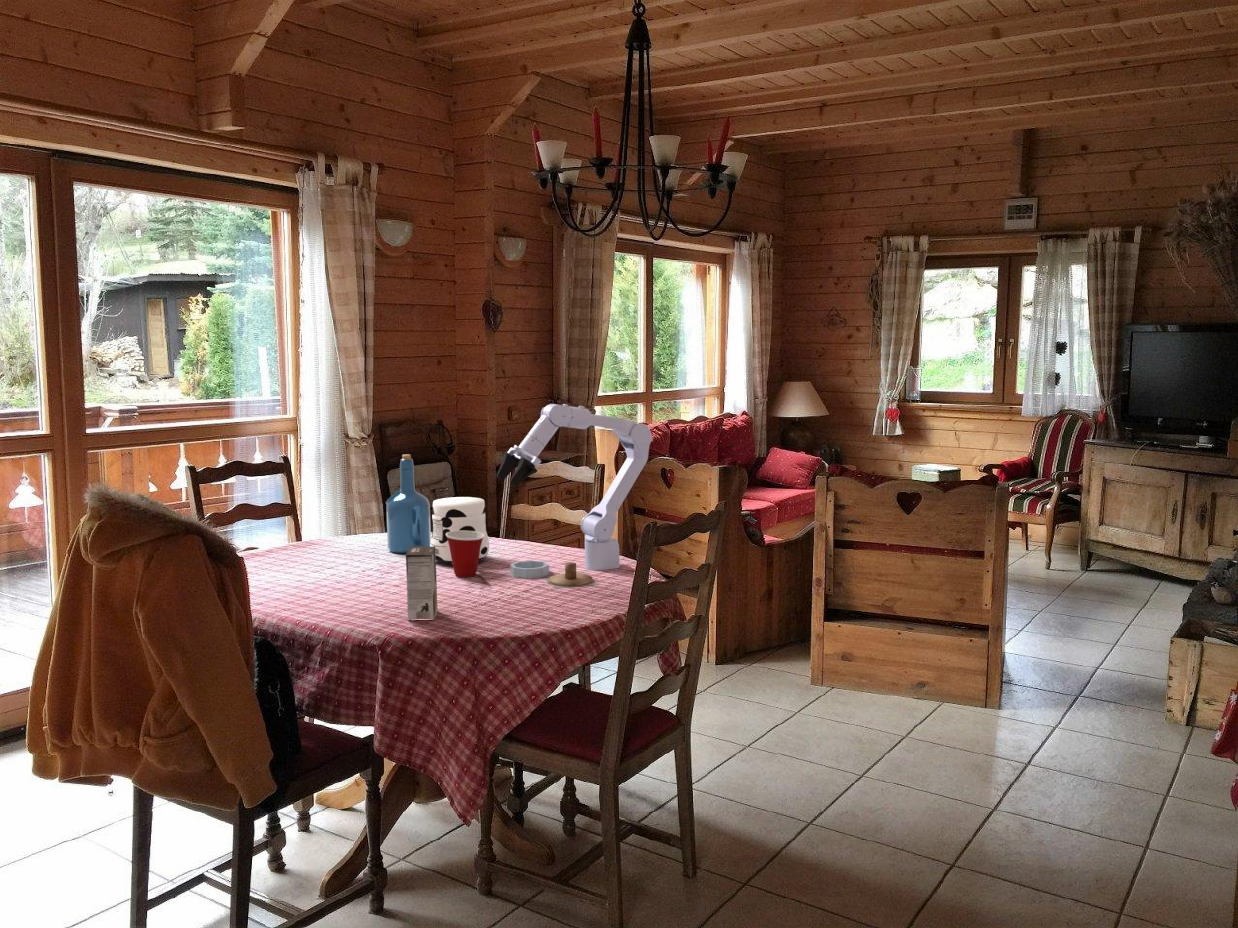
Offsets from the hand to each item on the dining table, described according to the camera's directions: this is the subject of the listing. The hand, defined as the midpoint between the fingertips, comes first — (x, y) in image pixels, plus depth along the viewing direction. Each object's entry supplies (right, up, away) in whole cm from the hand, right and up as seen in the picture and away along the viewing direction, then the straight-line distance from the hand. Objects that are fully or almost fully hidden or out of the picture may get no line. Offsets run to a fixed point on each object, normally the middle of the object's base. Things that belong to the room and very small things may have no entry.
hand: (505, 481), depth 274 cm
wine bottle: (-35, -22, +46) cm, 62 cm away
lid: (+17, -27, 0) cm, 32 cm away
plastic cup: (-12, -27, +12) cm, 31 cm away
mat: (+17, -28, 0) cm, 33 cm away
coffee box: (-17, -32, -29) cm, 46 cm away
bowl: (+6, -27, +9) cm, 29 cm away
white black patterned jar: (-17, -24, +30) cm, 42 cm away
